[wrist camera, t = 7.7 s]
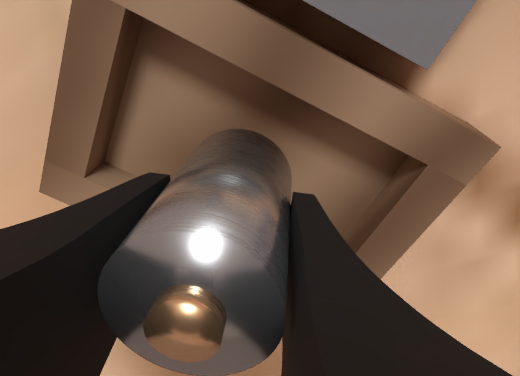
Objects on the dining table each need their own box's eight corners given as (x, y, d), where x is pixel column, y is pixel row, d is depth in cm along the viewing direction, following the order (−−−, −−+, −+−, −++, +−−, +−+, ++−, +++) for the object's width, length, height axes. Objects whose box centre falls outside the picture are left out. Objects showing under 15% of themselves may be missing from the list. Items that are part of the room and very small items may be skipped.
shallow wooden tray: (470, 124, 13) (501, 147, 11) (335, 285, 18) (339, 323, 16) (124, -65, 12) (85, -80, 10) (73, 167, 16) (39, 191, 14)
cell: (297, 133, 11) (294, 265, 5) (287, 228, 13) (276, 411, 7) (185, 124, 11) (63, 240, 5) (190, 219, 13) (99, 386, 7)
